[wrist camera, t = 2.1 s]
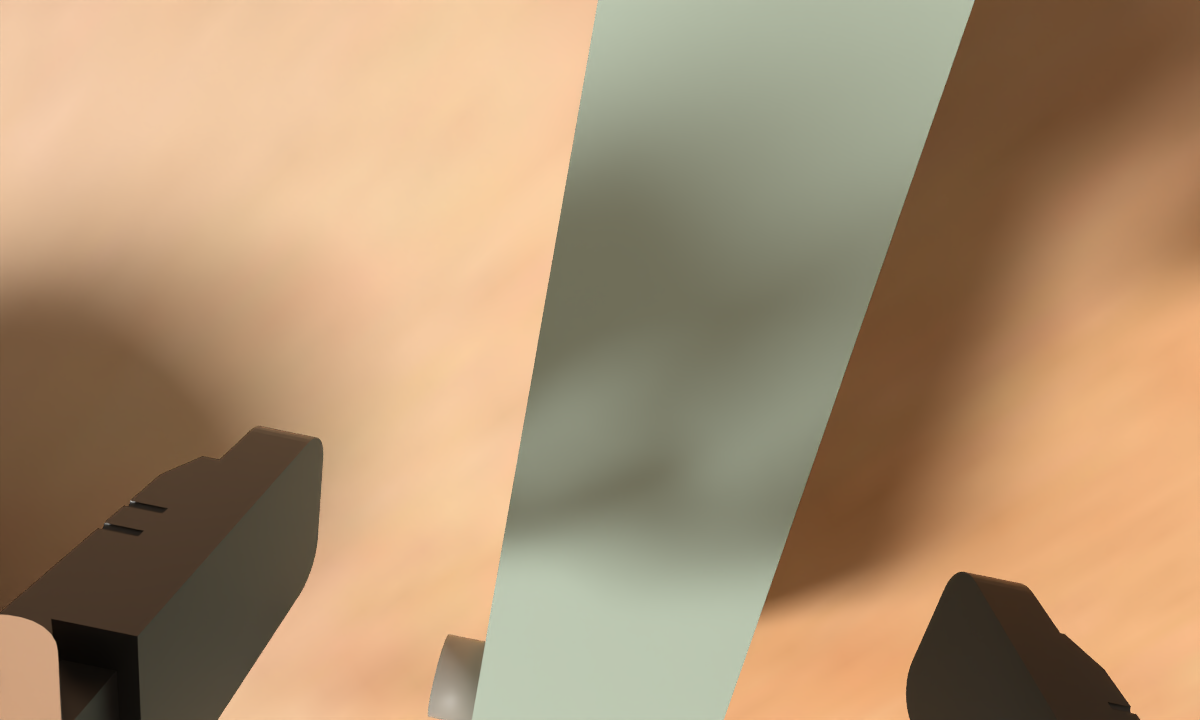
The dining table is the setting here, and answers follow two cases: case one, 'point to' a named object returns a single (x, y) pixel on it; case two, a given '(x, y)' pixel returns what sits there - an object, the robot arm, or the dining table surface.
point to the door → (694, 341)
